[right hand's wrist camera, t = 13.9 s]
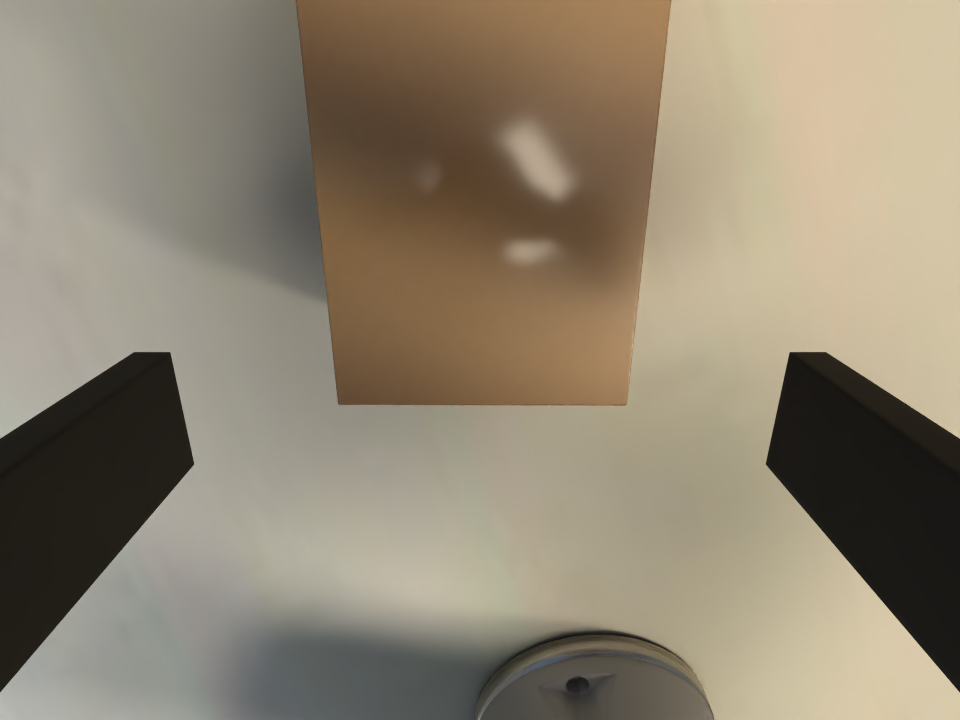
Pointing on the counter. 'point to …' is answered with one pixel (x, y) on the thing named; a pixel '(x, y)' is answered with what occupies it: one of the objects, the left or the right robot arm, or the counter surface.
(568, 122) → the cabinet
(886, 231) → the counter surface
